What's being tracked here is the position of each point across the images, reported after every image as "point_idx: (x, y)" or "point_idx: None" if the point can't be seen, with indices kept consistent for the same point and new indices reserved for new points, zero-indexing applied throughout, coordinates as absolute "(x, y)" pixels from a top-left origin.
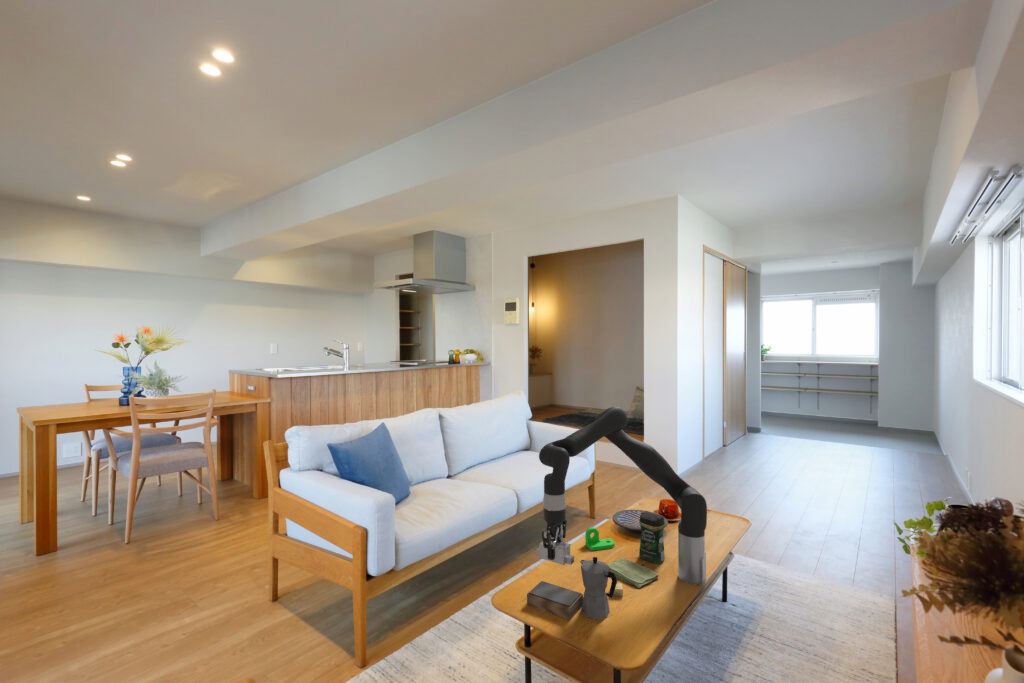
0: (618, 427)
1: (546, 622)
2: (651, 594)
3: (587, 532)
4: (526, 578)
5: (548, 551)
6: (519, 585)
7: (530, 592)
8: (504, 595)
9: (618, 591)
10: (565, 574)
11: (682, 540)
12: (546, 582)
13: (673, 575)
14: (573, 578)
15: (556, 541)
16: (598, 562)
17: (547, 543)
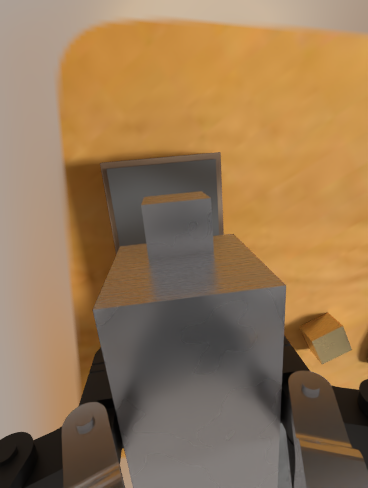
0: None
1: (81, 263)
2: (353, 385)
3: None
4: (266, 35)
5: (86, 398)
6: (204, 44)
7: (111, 173)
8: (104, 37)
9: (314, 351)
10: (361, 156)
11: None
12: (215, 182)
13: None
14: (346, 194)
15: (260, 408)
16: (278, 485)
17: (64, 470)
